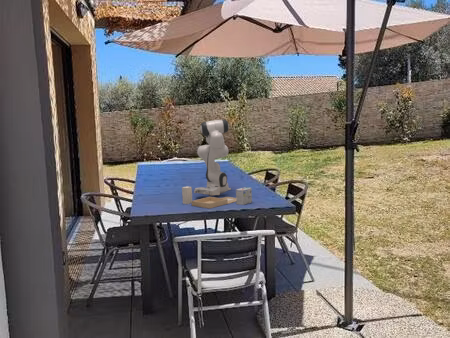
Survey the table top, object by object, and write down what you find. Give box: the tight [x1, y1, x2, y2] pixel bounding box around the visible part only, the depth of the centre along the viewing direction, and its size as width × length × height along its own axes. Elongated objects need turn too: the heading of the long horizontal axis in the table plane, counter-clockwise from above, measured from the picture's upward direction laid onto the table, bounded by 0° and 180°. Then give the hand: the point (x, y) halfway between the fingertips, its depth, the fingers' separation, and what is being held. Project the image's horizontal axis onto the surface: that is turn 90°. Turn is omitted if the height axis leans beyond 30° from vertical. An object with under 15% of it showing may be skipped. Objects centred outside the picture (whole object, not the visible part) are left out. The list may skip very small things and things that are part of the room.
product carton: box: [181, 185, 193, 205], centre depth 330 cm, size 5×5×12 cm
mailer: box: [191, 196, 236, 210], centre depth 329 cm, size 37×18×4 cm, turn 137°
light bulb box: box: [235, 186, 253, 206], centre depth 323 cm, size 11×7×11 cm, turn 141°
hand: (198, 192), depth 338 cm, fingers open, 8 cm apart
